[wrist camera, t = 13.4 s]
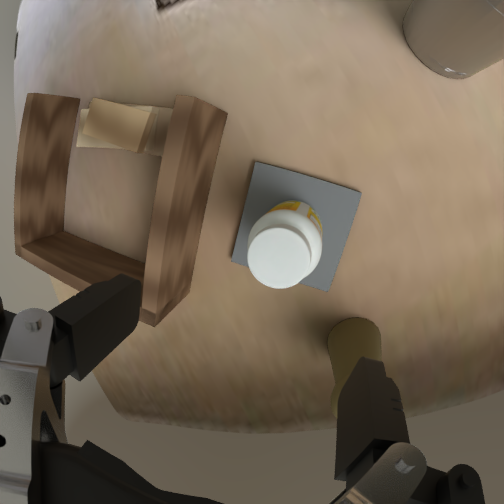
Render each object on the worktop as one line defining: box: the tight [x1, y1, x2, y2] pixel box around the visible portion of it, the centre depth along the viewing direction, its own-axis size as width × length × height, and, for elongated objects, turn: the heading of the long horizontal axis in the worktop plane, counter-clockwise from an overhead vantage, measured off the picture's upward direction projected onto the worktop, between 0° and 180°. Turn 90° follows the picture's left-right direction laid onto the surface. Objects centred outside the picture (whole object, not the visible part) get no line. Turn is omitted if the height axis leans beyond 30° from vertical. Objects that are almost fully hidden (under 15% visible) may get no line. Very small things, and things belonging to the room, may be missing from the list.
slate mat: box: [231, 162, 362, 292], centre depth 28 cm, size 10×10×1 cm
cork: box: [327, 318, 382, 418], centre depth 25 cm, size 6×6×11 cm
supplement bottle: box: [247, 200, 323, 289], centre depth 23 cm, size 5×5×10 cm
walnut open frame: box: [14, 93, 228, 327], centre depth 27 cm, size 20×22×8 cm
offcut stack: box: [76, 98, 173, 157], centre depth 27 cm, size 6×12×4 cm, turn 76°
